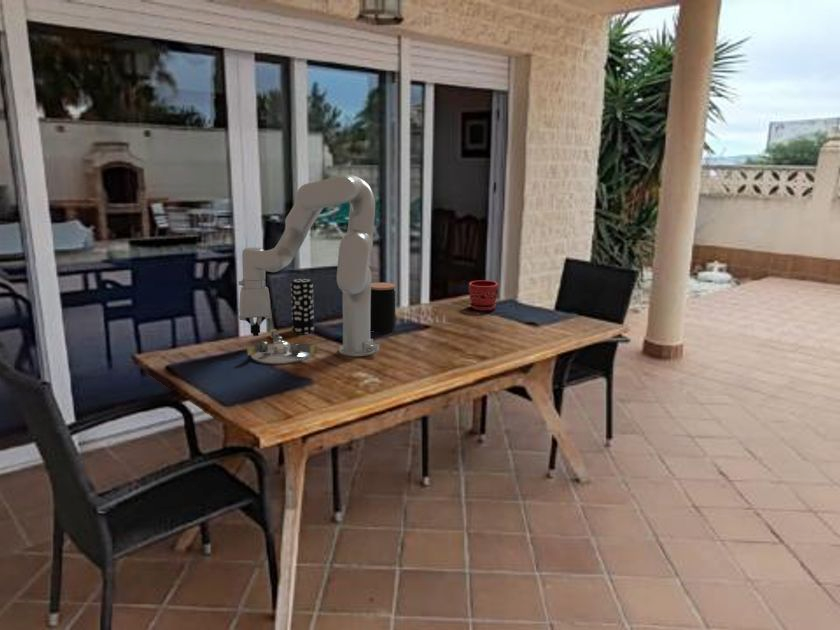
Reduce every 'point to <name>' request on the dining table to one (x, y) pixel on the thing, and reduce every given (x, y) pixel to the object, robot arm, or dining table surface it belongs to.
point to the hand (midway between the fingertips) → (255, 335)
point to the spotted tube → (302, 306)
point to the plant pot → (483, 294)
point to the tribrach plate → (279, 354)
